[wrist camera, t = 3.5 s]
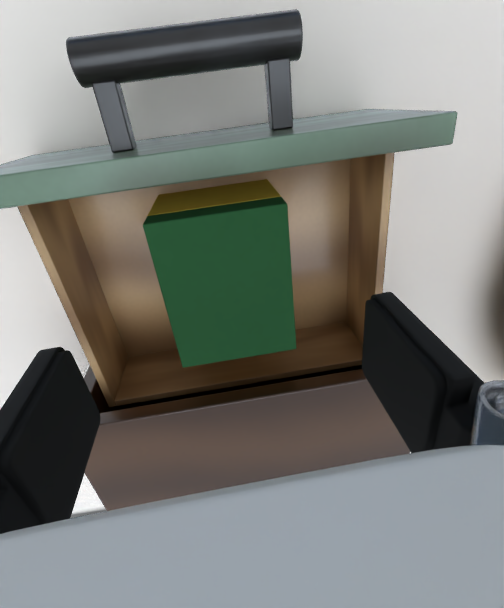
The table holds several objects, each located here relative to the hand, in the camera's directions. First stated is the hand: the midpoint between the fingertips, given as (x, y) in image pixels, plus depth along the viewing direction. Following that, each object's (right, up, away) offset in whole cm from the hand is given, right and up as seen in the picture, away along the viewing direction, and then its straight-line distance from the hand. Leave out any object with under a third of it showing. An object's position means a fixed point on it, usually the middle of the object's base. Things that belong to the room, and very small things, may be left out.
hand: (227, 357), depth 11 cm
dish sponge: (-1, +5, +8) cm, 9 cm away
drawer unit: (0, -4, +15) cm, 15 cm away
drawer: (-1, +6, +8) cm, 11 cm away
